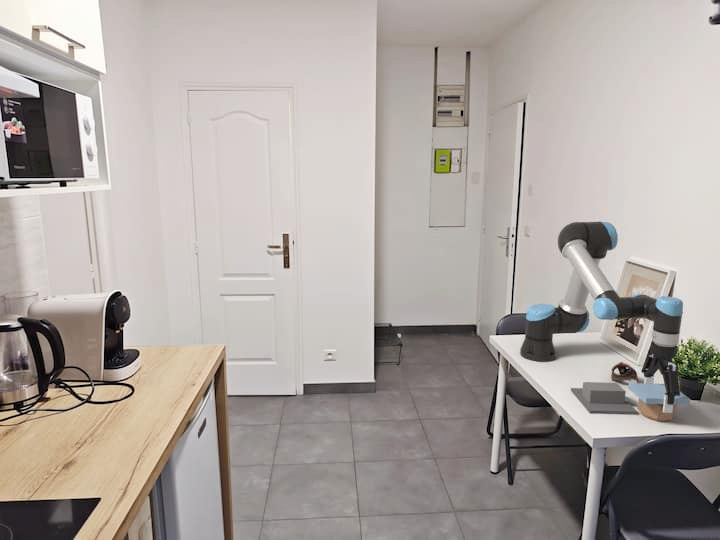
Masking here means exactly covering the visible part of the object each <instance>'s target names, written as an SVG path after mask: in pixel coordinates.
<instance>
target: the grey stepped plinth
mask: <svg viewBox="0 0 720 540" xmlns="http://www.w3.org/2000/svg"><path fill="white" fill-rule="evenodd" d="M570 391H571V393H572V394H573V395H574V396H575V397H576V399H577V400H578V401H579V402H580V403H581V404H582V405H583V408H585V410H586V411H587V412H588V413H589V414H599V415H600V414H601V415H603V414H606V415H639V414H638V411H637V410H636V409H635V408H634V407H633V405H632V404H630V403H629V401H627V400H626V390H625V389H624V388H623V387H622V386H621V385H620V384H619V383H618V382H600V381H599V382H595V381H592V382H591V381H583V383H582V388H581V387H570Z"/></svg>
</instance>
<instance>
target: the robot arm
mask: <svg viewBox="0 0 720 540" xmlns="http://www.w3.org/2000/svg"><path fill="white" fill-rule="evenodd" d="M618 240H619V238H618V233H617V228H616V227H615V226H614V225H613V224H612V223H610V222H608V221H599V220H598V221H582V222H581V221H575V222H571V223H568V224H566V225H565V226H564V227H563V228H562V229H561V230H560V232H559V234H558V237H557V247H558V250H559V252H560V253H561V255H562V256H563V258H565V259H568V261H569V263H570V265H572V267H573V271H572V273H571V277H570V280H569V283H568V287H567V290H566V292H565V295H564V298H563V299H560V301H559V302H558V306H557V307H555V306H554V305H552V304H549V303H536V304H532V305H530V306H529V307H528V308H527V310H526V316H525V319H526V320H525V333H524V334H525V335H524V339H523V342H522V345H521V347H520V349H519V354H520V356H521V357H522V358H524V359H526V360H530V361H535V362H541V363H542V362H544V363H545V362H551V361H554V360H555V359H556V350H555V346H554V342H553V336H554V334H569V333H570V334H575V333H581V332H584V331H585V330H586V329H587V328H588V327H589V323H590V312H589V311H588V308H587V306H586V302H587V300H588V296H589V294H590V295H591V297H592V300H593V303H592V310H593V314H594V316H595V317H596V319H599V320H606V321H613V320H625V319H626V320H629V319H630V320H632V319H634V320H635V319H644V320H645V319H646V320H648V321H651V322H653V327H652V333H651V336H652V337H651V341H652V342H650V343H651V344H650V350H648V351H647V356H646V358H645V361H644V364H643V365H642V367H641V370H640V371H641V373H642V374H643V376H644V381H643V383H645V384H654V381H655V379H654V377H655V374H656V372H657V371H659V373H660V375H662V378H663V384H665V388H666V392H667V393H664V394H665V396H664V404H663V411H662V412H663V413H672V411H673V404H674V398H675V396H680V392H681V390H680V381H679V379H680V378H679V373H678V372H679V365H678V364H673V359H675V357H676V358H677V355H678V345H679V341H680V333H681V324H682V317H683V314H684V312H683V311H684V310H683V309H684V302H683V300H682V299H680V298H677V297H673V296H664V295H663V296H659V297H657V298H654V297H651V296H649V295H648V294H643V293H642V294H641V293H635V294H633V295H631V296H624V297H621V296H620V295H619V294H618V293H617V291H616V290H615V289H614V288H613V286H612V284H611V283H610V282H609V279H608V278H607V277H606V275H605V274H604V273H603V271H602V269H601V268H600V266H599V264H600V261H601V260H603V259H605V258H606V257H607V254H608V251H612V250H614V249H615V248H616V247H617V245H618V242H619V241H618Z"/></svg>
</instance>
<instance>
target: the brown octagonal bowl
mask: <svg viewBox="0 0 720 540" xmlns="http://www.w3.org/2000/svg"><path fill="white" fill-rule="evenodd" d="M676 406H677V405H673V411H672V413H663V412H662V411H663V404H645V403H644V402H643V401H642V400H641V399H640V398H638V404H637V410H638V411H639V412H640V414H641V415H642V416H643V417H645V418H647V419H648V420H651V421H656V422H669V421H671V420H672V419H673V418H674V417H675V413H676Z"/></svg>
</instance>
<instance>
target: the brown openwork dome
mask: <svg viewBox="0 0 720 540" xmlns="http://www.w3.org/2000/svg"><path fill="white" fill-rule="evenodd" d="M616 369H617V370H618V373H615V370H616ZM610 379H611V381H618V382H621V381H624V382H625V381H631V380H635V382H636V383H639V378H638V373H637V371H636V369H635V368H633V367H632V366H630V365H629V364H628V363H624V362H622V361H621V362H618V363H617V364H615V365H614V366H613V367H612V368H611V374H610Z"/></svg>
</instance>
